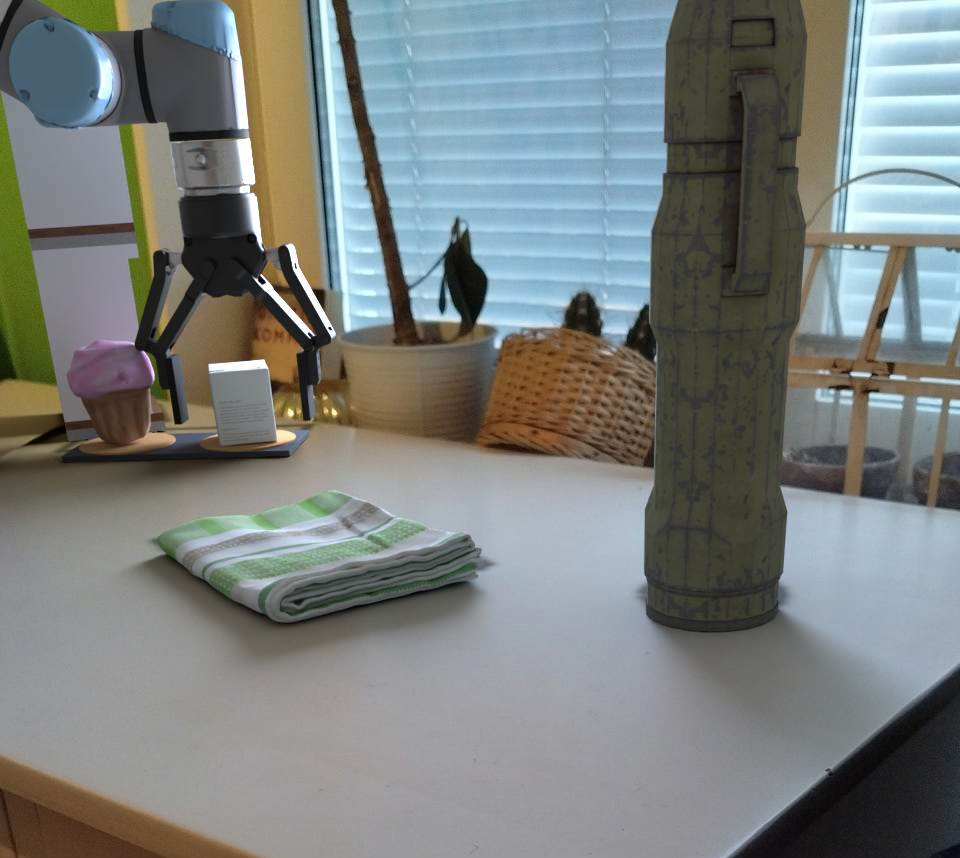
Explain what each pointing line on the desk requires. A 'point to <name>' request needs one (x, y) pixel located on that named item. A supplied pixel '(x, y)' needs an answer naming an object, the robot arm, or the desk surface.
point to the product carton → (242, 402)
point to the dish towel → (319, 556)
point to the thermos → (724, 311)
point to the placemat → (182, 447)
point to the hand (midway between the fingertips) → (245, 420)
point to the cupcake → (114, 388)
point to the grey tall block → (77, 243)
